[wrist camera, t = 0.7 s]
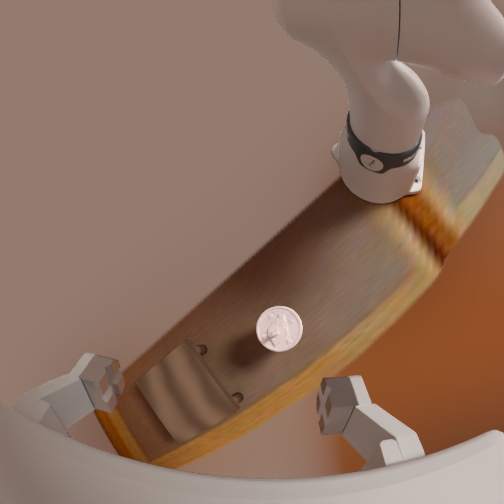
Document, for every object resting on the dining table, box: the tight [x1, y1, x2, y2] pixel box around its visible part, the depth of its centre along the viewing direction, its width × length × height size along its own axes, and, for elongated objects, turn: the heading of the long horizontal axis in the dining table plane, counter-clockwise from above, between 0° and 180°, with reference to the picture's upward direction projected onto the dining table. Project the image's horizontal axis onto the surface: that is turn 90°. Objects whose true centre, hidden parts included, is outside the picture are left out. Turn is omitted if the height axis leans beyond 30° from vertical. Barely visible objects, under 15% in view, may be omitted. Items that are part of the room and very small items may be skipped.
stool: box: [135, 340, 243, 445], centre depth 44 cm, size 14×14×7 cm
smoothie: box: [256, 306, 303, 352], centre depth 40 cm, size 6×6×14 cm
